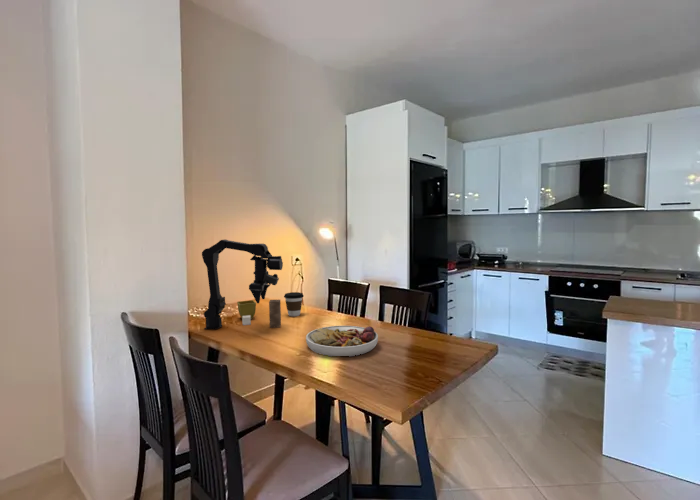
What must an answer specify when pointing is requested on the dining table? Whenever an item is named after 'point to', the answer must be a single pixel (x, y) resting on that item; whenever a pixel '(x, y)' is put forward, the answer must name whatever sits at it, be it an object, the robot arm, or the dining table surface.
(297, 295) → the coffee cup
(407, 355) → the dining table surface
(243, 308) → the flower pot
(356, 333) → the bowl
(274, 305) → the walnut block
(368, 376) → the dining table surface
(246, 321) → the ceramic cube
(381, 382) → the dining table surface
